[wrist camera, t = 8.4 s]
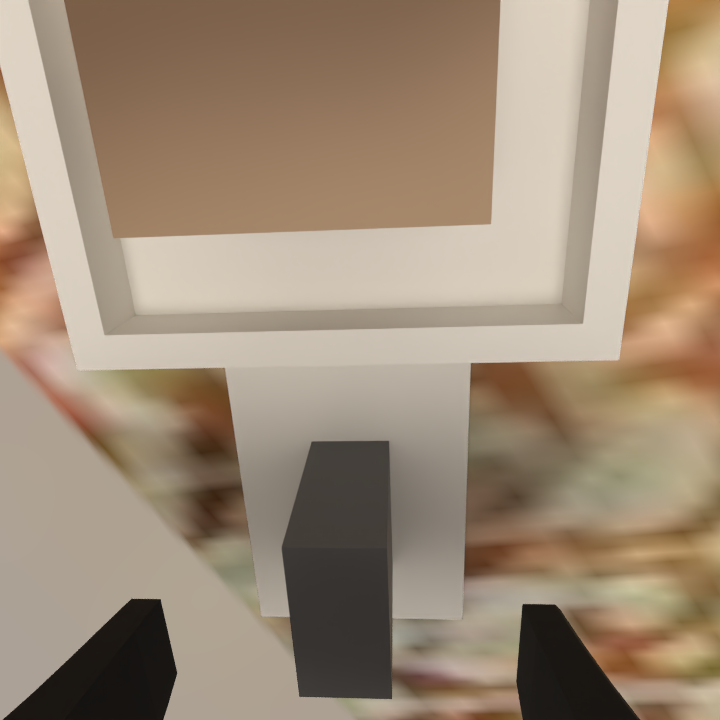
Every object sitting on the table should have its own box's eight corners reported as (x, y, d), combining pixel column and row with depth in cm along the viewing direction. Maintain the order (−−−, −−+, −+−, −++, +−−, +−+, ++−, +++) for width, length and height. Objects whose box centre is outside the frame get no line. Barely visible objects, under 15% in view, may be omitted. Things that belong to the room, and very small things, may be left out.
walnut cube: (452, 193, 12) (490, 224, 7) (222, 203, 12) (113, 238, 7) (456, -96, 10) (514, -320, 5) (187, -74, 10) (9, -265, 5)
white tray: (550, 594, 17) (611, 768, 12) (183, 590, 17) (106, 750, 13) (649, -325, 9) (908, -806, 5) (4, -257, 10) (-330, -603, 5)
